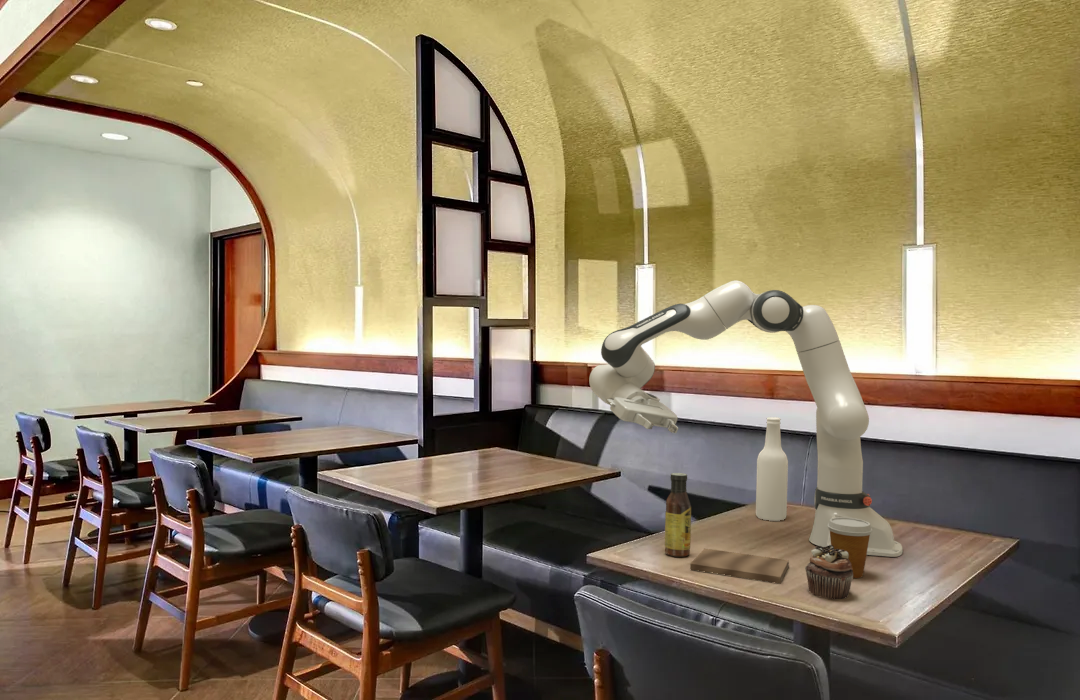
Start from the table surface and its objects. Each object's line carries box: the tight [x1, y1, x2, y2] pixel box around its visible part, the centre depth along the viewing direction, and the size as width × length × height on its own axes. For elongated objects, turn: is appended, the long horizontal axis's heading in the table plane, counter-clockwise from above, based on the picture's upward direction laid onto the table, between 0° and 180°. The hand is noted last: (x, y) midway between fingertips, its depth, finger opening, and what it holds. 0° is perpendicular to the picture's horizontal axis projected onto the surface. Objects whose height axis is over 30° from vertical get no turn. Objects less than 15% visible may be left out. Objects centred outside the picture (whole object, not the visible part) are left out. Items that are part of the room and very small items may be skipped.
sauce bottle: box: [664, 472, 692, 558], centre depth 188 cm, size 6×6×20 cm
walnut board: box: [689, 548, 790, 584], centre depth 177 cm, size 20×14×2 cm
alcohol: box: [755, 416, 789, 522], centre depth 226 cm, size 9×9×30 cm
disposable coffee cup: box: [828, 517, 872, 579], centre depth 175 cm, size 10×10×12 cm
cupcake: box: [804, 545, 854, 600], centre depth 162 cm, size 10×10×10 cm
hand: (663, 428), depth 194 cm, fingers open, 8 cm apart
